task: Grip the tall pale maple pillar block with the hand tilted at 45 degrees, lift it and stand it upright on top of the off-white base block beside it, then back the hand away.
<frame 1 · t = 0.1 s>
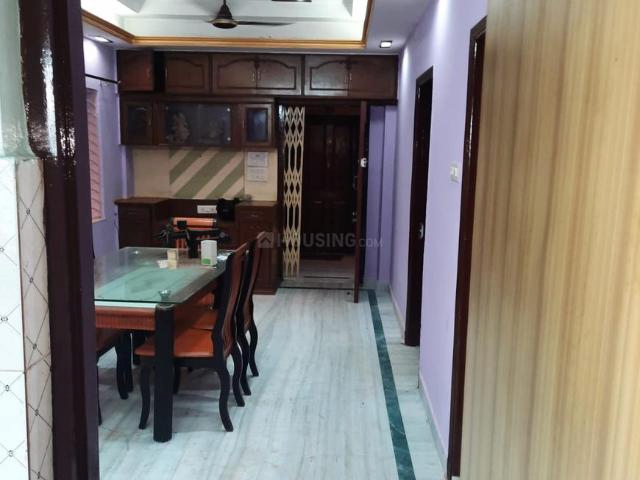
hand: (154, 237, 373), 17 cm above the table, tool horizontal, fingers open, 9 cm apart
off-white base block: (166, 265, 360), on the table
skincare box: (209, 264, 361), on the table
maple pillar block: (173, 268, 353), on the table
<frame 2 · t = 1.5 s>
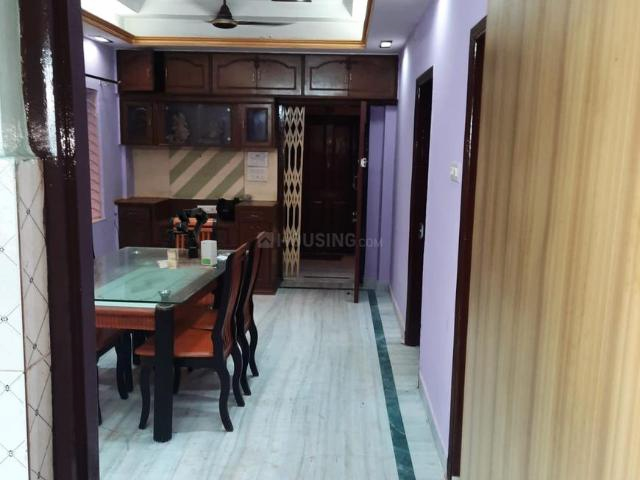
hand: (178, 243, 362), 14 cm above the table, tool tilted 45°, fingers open, 9 cm apart
nothing on the table moved.
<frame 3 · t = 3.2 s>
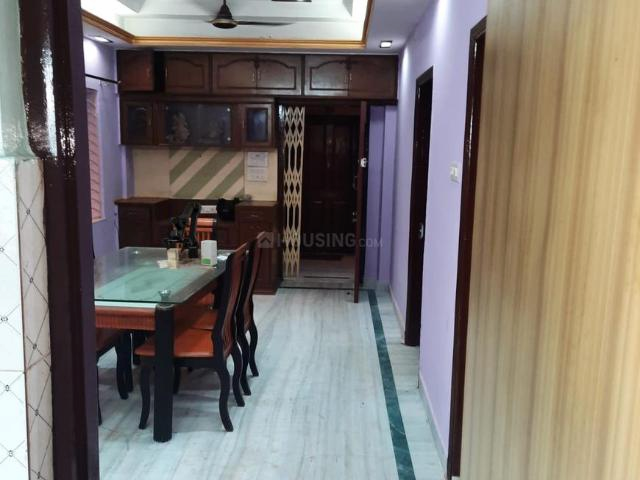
hand: (174, 252, 353), 10 cm above the table, tool tilted 45°, fingers open, 9 cm apart
nothing on the table moved.
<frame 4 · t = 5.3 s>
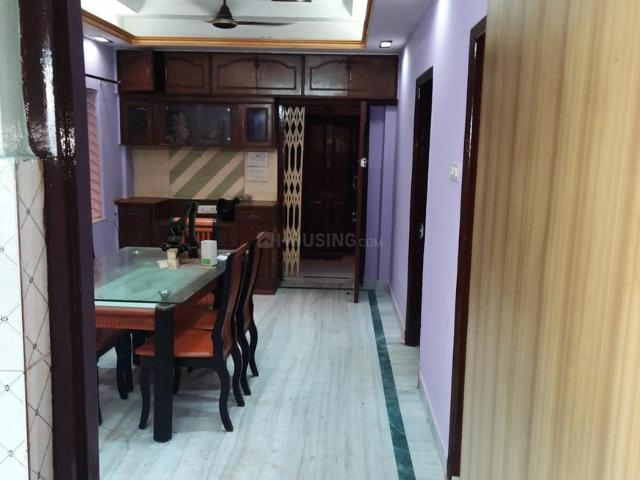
hand: (172, 258, 350), 7 cm above the table, tool tilted 45°, fingers closed on maple pillar block, 5 cm apart
maple pillar block: (173, 268, 353), on the table, touching gripper
everything else where it was.
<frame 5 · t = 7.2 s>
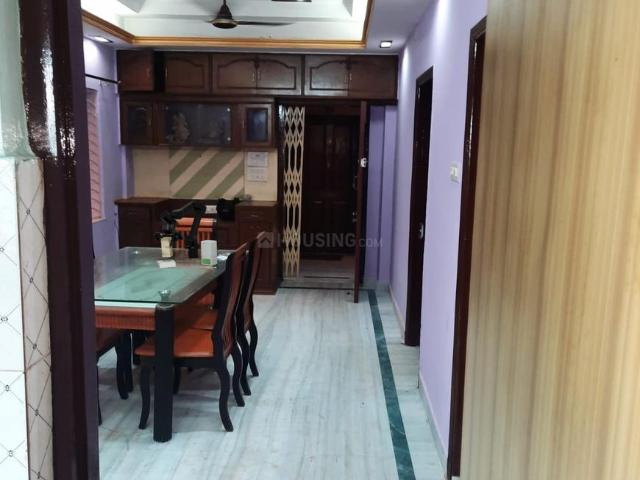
hand: (166, 246, 355), 13 cm above the table, tool tilted 45°, fingers closed on maple pillar block, 5 cm apart
maple pillar block: (167, 256, 358), point 7 cm above the table, touching gripper
everything else where it was.
when the fingers open (11 cm above the table, at t = 9.1 s): maple pillar block drops 1 cm, resting on off-white base block.
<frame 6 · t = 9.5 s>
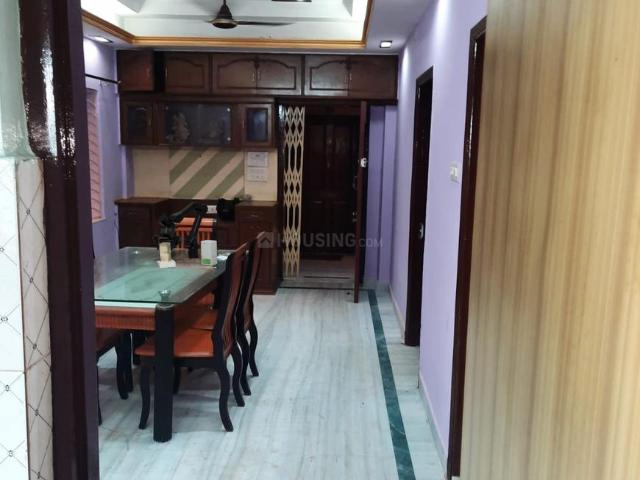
hand: (164, 250, 357), 11 cm above the table, tool tilted 45°, fingers open, 9 cm apart
maple pillar block: (166, 261, 360), point 3 cm above the table, touching off-white base block
everything else where it was.
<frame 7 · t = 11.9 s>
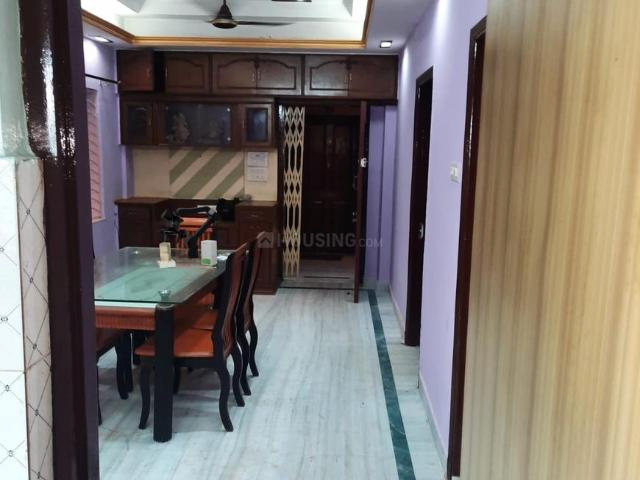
hand: (169, 243, 366), 14 cm above the table, tool tilted 45°, fingers open, 9 cm apart
nothing on the table moved.
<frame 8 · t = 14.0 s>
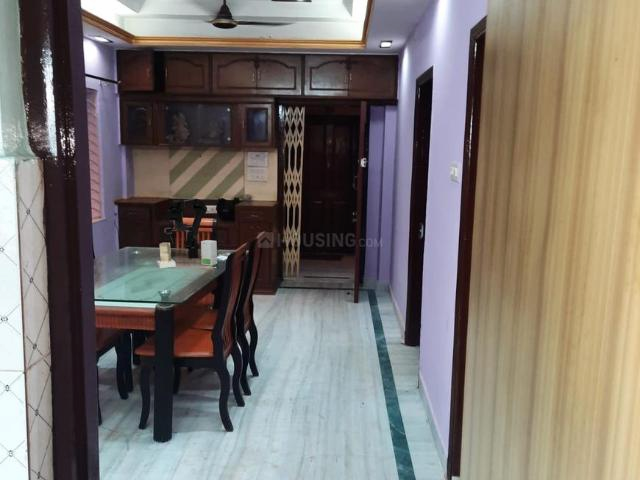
hand: (180, 242, 373), 13 cm above the table, tool pointing down, fingers open, 9 cm apart
nothing on the table moved.
at the end: maple pillar block inside the target area on the off-white base block (0.0 cm from its centre), point 3.0 cm above the off-white base block's base; maple pillar block tilted 0°; the gripper is holding nothing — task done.
